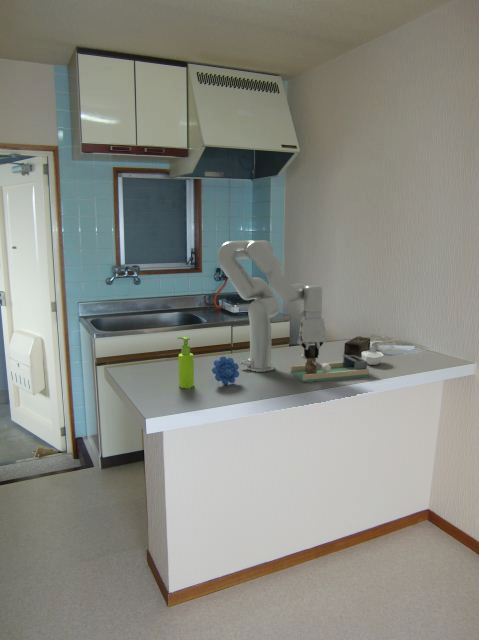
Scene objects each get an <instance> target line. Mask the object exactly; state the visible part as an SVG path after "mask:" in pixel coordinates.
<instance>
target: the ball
mask: <svg viewBox="0 0 479 640" xmlns="http://www.w3.org/2000/svg"><path fill="white" fill-rule="evenodd" d="M324 363H325V364H323V365H322V368H321V369H322V371H323V372H325V373H327V372H329V371H330V370H331V367H330V365H329V364H327V363H328V362H324Z"/></svg>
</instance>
